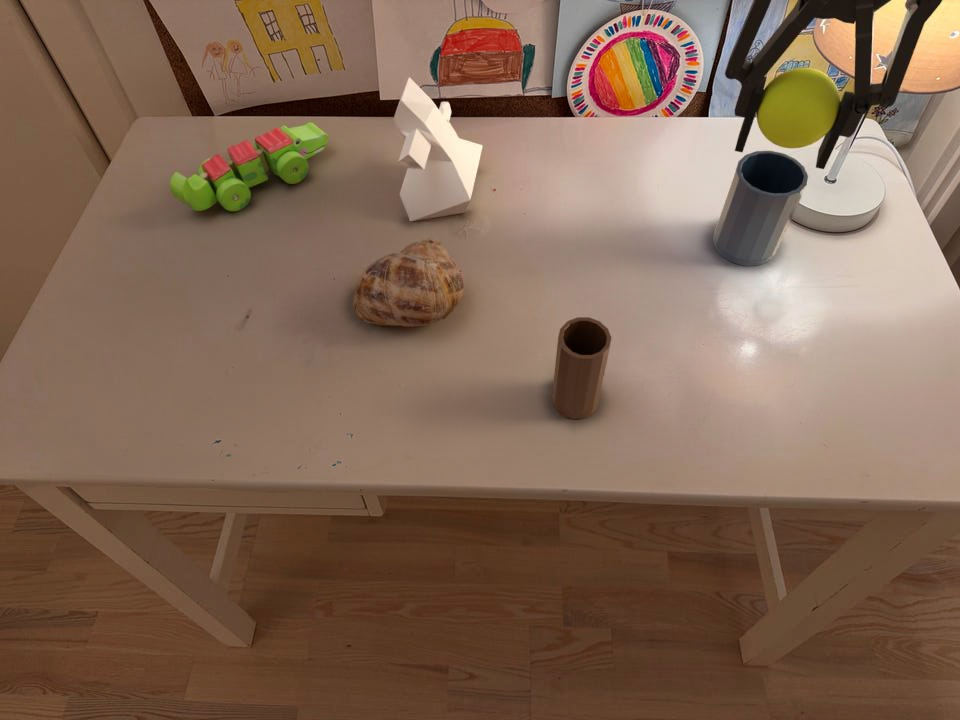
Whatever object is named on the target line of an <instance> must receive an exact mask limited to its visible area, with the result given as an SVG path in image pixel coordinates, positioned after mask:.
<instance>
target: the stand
mask: <svg viewBox="0 0 960 720" xmlns="http://www.w3.org/2000/svg"><path fill="white" fill-rule="evenodd" d="M611 343H612V336H611V332H610V330H609V327H607V326H606V325H604V323H603V322H601V321H600V320H597V319H595V318H592V317H589V316H588V317H587V316H583V317H582V316H580V317H579V316H578V317H575V318H572V319H569V320H567V321H566V322H565V323H564V324H563V325H562V326H561V327H560V328H559V332H558V337H557V345H556V355H555V363H554V371H553V372H554V373H553V383H552V391H551V395H552V396H551V402H552V405H553V406H554V408H555V410H556V411H557V412H558V414H560V415H561V416H564V417H565V418H568V419H571V420H582V419H585V418H587V417H590V416H591V415H592V414H593V413H595V411H596V409H597V407H598V404H599V400H600V397H601V392H602V387H603V382H604V378H605V373H606V367H607V363H608V358H609V355H610V354H609V353H610V349H611Z"/></svg>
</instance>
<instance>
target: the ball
mask: <svg viewBox="0 0 960 720" xmlns="http://www.w3.org/2000/svg"><path fill="white" fill-rule="evenodd" d="M840 101H841V97H840V91H839V89H838V87H837V85H836V83H835V81H834V80H833V79H832V78H831V77H830V76H829V75H828V74H826V73H825V72H823V71H822V70H820V69H817V68H813V67H795V68H792V69H788V70H785V71H783V72H782V73H779V74H778V75H776V76H775V77H774V78H773V79H771V81H769V82H768V84H767V85H765V87H764V91H763V94H762V97H761V100H760V103H759V106H758V109H757V112H756V122H757V125H758V128H759V130H760V132H761V134H762V135H763V136H764V137H765V139H767V140H768V141H769V142H770V143H772V145H775V146H778V147H780V148H785V149H801V148H805V147H808V146H811V145H812V144H815V143H816V142H818V141H819V140H821V139H822V138H824V137H825V135H826V134H827V133H828V132H829V130H830V129H831V128H832V126H833V125H834V123H835V121H836V119H837V116H838V113H839V109H840Z"/></svg>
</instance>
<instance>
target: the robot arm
mask: <svg viewBox="0 0 960 720" xmlns="http://www.w3.org/2000/svg"><path fill="white" fill-rule="evenodd" d="M891 1H892V0H797V1H796V3H795V5H794V6H793V8H792V9H791V10H790V12H789V13H788V14H787V15H786V17H784V19H783V21H782V22H781V23H780V25H779V26H777V29H776V30H775V31H774V32H773V33H772V35H771V37H769V38H768V40H767V41H766V43H765V44H764V45H763V46H762V47H761V49H760V50H759V52H758V53H757V54H756V55H755V56H754V58H753V59H752V60H749V61H748V60H747V58H748V55H749V52H750V51H751V48H752V46H753V44H754V41H755V40H756V37H757V35H758V33H759V30H760V28H761V26H762V23H763V21H764V19H765V17H766V14H767V12H768V9H769V8H770V5H771V2H772V0H752V3H751V6H750V8H749V10H748V12H747V15H746V17H745V19H744V22H743V24H742V26H741V28H740V31H739V34H738V37H737V39H736V41H735V44H734V46H733V48H732V51H731V53H730V55H729V59H728V61H727V65H726V68H725V70H724V71H725V72H724V75H725V77H726V79H727V80H736V81H738V82H739V83H740V85H741V87H740V91H739V93H738V97H737V100H736V104H735V108H734V111H733V112H734V117H740V118H743V120H742V123H741V127H740V130H739V133H738V136H737V141H736V143H735V148H734V152H738V153H744V149H745V146H746V143H747V141H748V137H749V135H750V132H751V129H752V126H753V124H754V120H755V117H756V116H757V109H758V106H759V103H760V100H761V97H762V94H763V91H764V89H765V87H766V82H767V78H768V77H767V76H766V75H767V74H768V73H769V72H770V70H771V69H772V68H773V67H774V66H775V64H776V63H777V62H778V61H779V60H780V58H781V57H782V56H783V55H784V53H785V52H786V51H787V50H788V49H789V48H790V46H791V45H792V43H793V42H794V41H795V40H796V39H797V38H798V36H799V35H800V34H801V33H802V31H803V30H806V29H807V28H808V26H809V25H810V24H811V23H812V22H813V20H815V19H819V20H833V19H835V20H837V21H840V22H841V23H844V24H851V25H854V39H855V40H854V41H855V42H854V43H855V44H854V79H853V80H854V82H853V84H854V86H853V91H847V90H845V91H844V93H843V95H842V97H841V98H840V109H839V113H838V116H837V119H836V121H835V123H834V125H833V126H832V128H831V129H830V130H829V132H828V133H827V134H826V135H825V136H824V137H823V139H822V141H821V144H820V146H819V147H818V151H817V158H816V162H815V163H816V164H815V168H816V169H819V170H820V169H821V170H825V168H826V165H827V163H828V162H829V159H830V157H831V155H832V153H833V151H834V148H835V146H836V145H837V143H838V141H839V138H840V137H844V138H851V137H852V136H853V135H854V134H855V132H856V131H857V128H858V126H859V124H860V122H861V120H862V118H863V116H864V115H866V114H867V113H868V112H869V110H870V107H873V106H881V107H882V108H890V107H893V105H894V104H895V103H896V100H897V98H898V95H899V92H900V89H901V87H902V84H903V82H904V79H905V77H906V74H907V72H908V68H909V65H910V63H911V60H912V57H913V55H914V52H915V49H916V47H917V44H918V42H919V39H920V36H921V34H922V32H923V29H924V26H925V23H926V22H927V21H928V20H929V19H930V17H931V16H932V15H933V14H934V12H935V11H936V10H937V9H938V7H939V6H940V5H941V4H942V2H943V0H905V2H904V7H905V9H906V12H905V14H904V18H903V20H902V23H901V25H900V29H899V32H898V34H897V36H896V41H895V42H894V45H893V49H892V52H891V54H890V57H889V60H888V63H887V66H886V69H885V71H884V74H883V77H882V79H881V80H882V81H881V82H879V83H872V82H873V81H872V80H873V79H872V78H873V60H874V59H873V58H874V57H873V56H874V55H873V54H874V35H875V33H874V30H875V14H876V12H877V11H879V10H880V9H881V8H883V7H884V6H886V5H887V4H888V3H890V2H891Z"/></svg>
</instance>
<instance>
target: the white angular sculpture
mask: <svg viewBox="0 0 960 720" xmlns="http://www.w3.org/2000/svg"><path fill="white" fill-rule="evenodd" d="M451 116H452V109H451V105H450V103H449V101H441V102H440V105H439V108H438V106H437V105H436V103H435V102H434V101H433V99H432V98H430V97H429V95H428V94H427V93H426V92H425V91H423V90H422V88H421V87H420V86H419V85H418V84H417V83H416V82H415V81H414V80H413V79H412V78H411V77H410V76H408V78H407V81H406V83H405V86H404V88H403V91H402V93H401V95H400V99H399V102H398V105H397V107H396V110H395V113H394V116H393V123H394V125H395V127H396V129H397V130H398V131H399V132H400V133H401V135H402V136H403V138H404V143H403V146H402V149H401V152H400V155H399V158H398V161H397V163H399V164H401V165H402V166H404V167H406V168H407V170H406V172H405V174H404V179H403V181H402V185H401V189H400V191H399V197H400V199H401V202H402V204H403V206H404V209H405V212H406V215H407V218H408V219H409V222H416V221H423V220H429V219H435V218H441V217H447V216H453V215H459V214H464V213H466V212H467V211H466V210H467V209H468V206H469V205H470V202H471V198H472V195H473V190H474V186H475V181H476V177H477V173H478V170H479V164H480V160H481V155H482V151H483V147H484V145H482V144H480V143H476V142H474V141H470V140H467V139H463V138H461V137H459V136H458V134H457V132H456V130H455V129H454V127H453V125H452V124H451V122H450V120H451Z"/></svg>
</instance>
